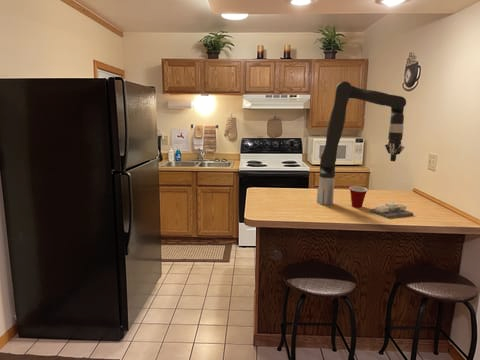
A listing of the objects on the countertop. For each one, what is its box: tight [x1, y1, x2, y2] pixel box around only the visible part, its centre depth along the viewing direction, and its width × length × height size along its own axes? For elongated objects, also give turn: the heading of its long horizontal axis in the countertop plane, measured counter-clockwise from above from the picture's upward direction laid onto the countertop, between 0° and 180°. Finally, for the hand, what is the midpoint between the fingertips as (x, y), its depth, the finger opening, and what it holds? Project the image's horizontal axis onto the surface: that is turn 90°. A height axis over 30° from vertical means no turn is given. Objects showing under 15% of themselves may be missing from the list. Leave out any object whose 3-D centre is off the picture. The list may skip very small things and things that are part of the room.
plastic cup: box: [349, 185, 368, 209], centre depth 207 cm, size 11×11×12 cm
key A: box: [375, 205, 389, 213], centre depth 193 cm, size 5×5×4 cm
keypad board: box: [369, 207, 414, 219], centre depth 195 cm, size 18×14×4 cm
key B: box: [385, 201, 399, 211], centre depth 194 cm, size 5×5×4 cm
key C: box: [397, 203, 407, 211], centre depth 197 cm, size 5×5×4 cm
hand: (392, 161), depth 200 cm, fingers closed
